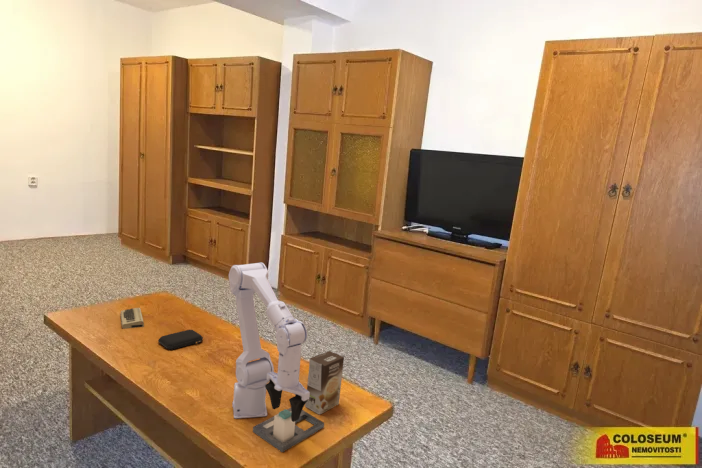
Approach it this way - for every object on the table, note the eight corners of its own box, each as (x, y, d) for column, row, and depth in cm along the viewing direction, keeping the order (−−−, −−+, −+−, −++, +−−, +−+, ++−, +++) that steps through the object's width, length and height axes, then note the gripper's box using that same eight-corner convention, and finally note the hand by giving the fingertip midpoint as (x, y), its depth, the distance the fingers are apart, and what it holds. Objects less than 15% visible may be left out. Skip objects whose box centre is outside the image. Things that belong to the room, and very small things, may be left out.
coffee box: (319, 415, 139) (324, 366, 136) (304, 406, 143) (308, 358, 140) (339, 404, 146) (344, 357, 143) (324, 396, 150) (329, 349, 147)
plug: (282, 445, 123) (284, 418, 122) (272, 438, 126) (274, 412, 124) (293, 439, 127) (295, 412, 125) (283, 432, 129) (285, 406, 127)
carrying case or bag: (169, 353, 168) (206, 343, 179) (169, 346, 167) (206, 336, 178) (156, 343, 175) (192, 334, 186) (156, 336, 174) (192, 327, 185)
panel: (282, 452, 121) (282, 446, 120) (252, 431, 128) (253, 426, 128) (323, 427, 133) (324, 422, 133) (294, 409, 140) (295, 404, 140)
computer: (120, 315, 197) (120, 308, 197) (141, 313, 201) (141, 306, 200) (121, 329, 184) (121, 322, 183) (144, 327, 188) (144, 320, 187)
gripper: (259, 361, 124) (256, 408, 126) (297, 382, 115) (293, 432, 117) (279, 354, 129) (275, 398, 132) (316, 373, 120) (312, 421, 123)
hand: (285, 413), depth 125 cm, fingers open, 7 cm apart
